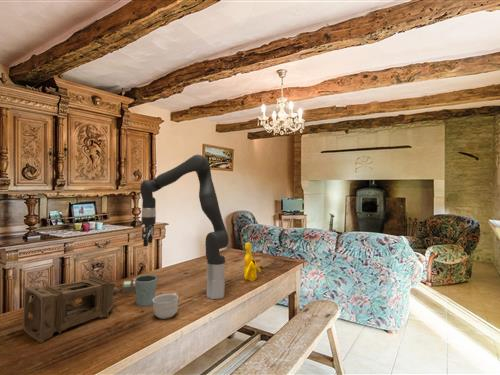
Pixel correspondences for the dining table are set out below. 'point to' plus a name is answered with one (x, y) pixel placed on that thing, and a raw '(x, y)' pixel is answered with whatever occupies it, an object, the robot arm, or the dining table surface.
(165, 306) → the teacup
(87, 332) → the dining table surface
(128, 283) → the sage key
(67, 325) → the brown lantern
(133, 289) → the key console
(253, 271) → the figure statuette
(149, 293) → the grey-green tumbler
